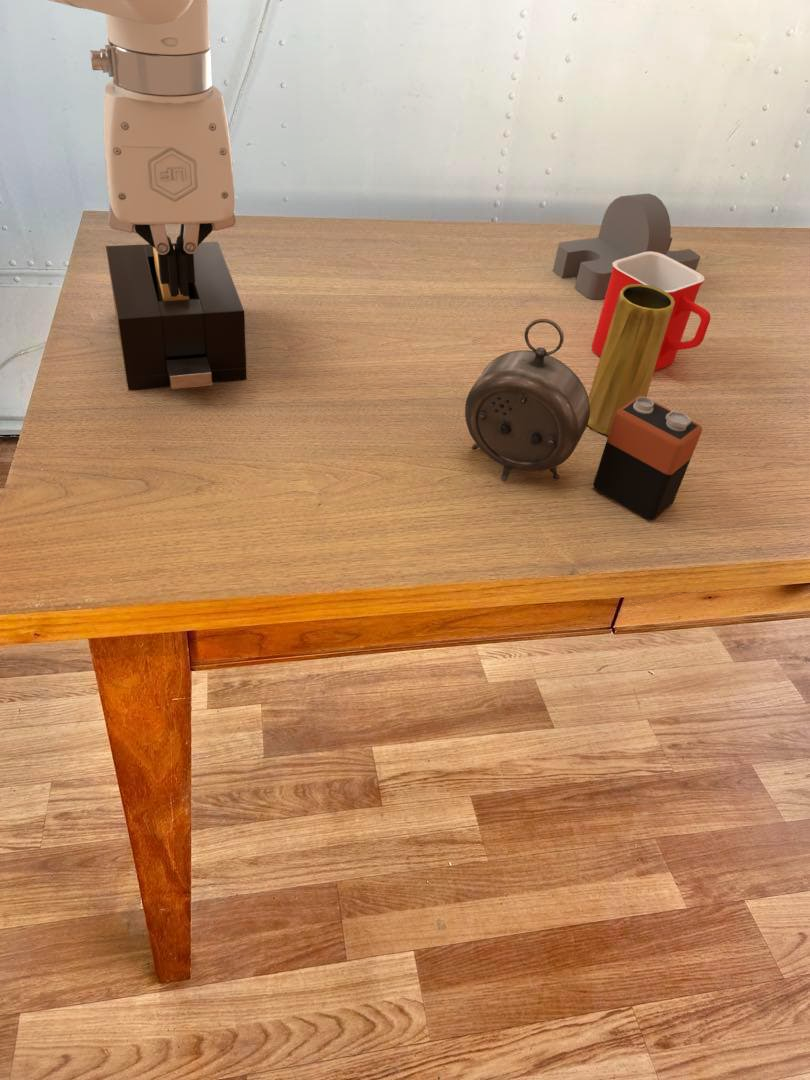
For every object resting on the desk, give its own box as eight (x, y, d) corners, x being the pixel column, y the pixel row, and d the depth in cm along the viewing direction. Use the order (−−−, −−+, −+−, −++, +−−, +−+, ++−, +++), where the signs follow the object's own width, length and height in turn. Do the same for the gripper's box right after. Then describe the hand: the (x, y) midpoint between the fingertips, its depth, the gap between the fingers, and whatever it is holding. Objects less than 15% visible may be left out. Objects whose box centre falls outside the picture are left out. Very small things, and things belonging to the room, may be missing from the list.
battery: (650, 524, 79) (684, 436, 72) (589, 488, 82) (617, 401, 76) (674, 504, 82) (709, 417, 75) (614, 470, 85) (642, 384, 78)
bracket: (695, 283, 119) (722, 205, 111) (590, 300, 112) (611, 218, 104) (651, 253, 125) (674, 177, 117) (549, 268, 118) (567, 188, 110)
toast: (169, 353, 90) (161, 282, 85) (160, 316, 95) (152, 246, 90) (193, 351, 91) (187, 280, 85) (183, 314, 96) (177, 245, 91)
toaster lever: (171, 389, 85) (170, 376, 84) (167, 373, 87) (166, 360, 86) (212, 385, 86) (211, 372, 85) (207, 369, 88) (206, 356, 87)
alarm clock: (573, 474, 84) (617, 324, 73) (557, 505, 80) (600, 352, 69) (470, 438, 86) (497, 289, 75) (449, 467, 83) (474, 313, 72)
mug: (583, 348, 102) (605, 263, 95) (628, 331, 106) (653, 249, 99) (660, 397, 96) (691, 310, 89) (706, 377, 100) (738, 293, 93)
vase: (580, 431, 89) (616, 305, 80) (581, 400, 94) (615, 277, 84) (639, 441, 89) (682, 316, 79) (636, 409, 93) (677, 287, 84)
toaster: (128, 390, 87) (118, 319, 82) (115, 313, 98) (105, 245, 92) (246, 379, 90) (244, 310, 85) (221, 306, 101) (218, 241, 96)
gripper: (61, 80, 62) (95, 313, 74) (266, 86, 67) (266, 304, 79) (58, 53, 67) (90, 275, 79) (248, 60, 72) (251, 269, 84)
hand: (178, 289), depth 79 cm, fingers closed
